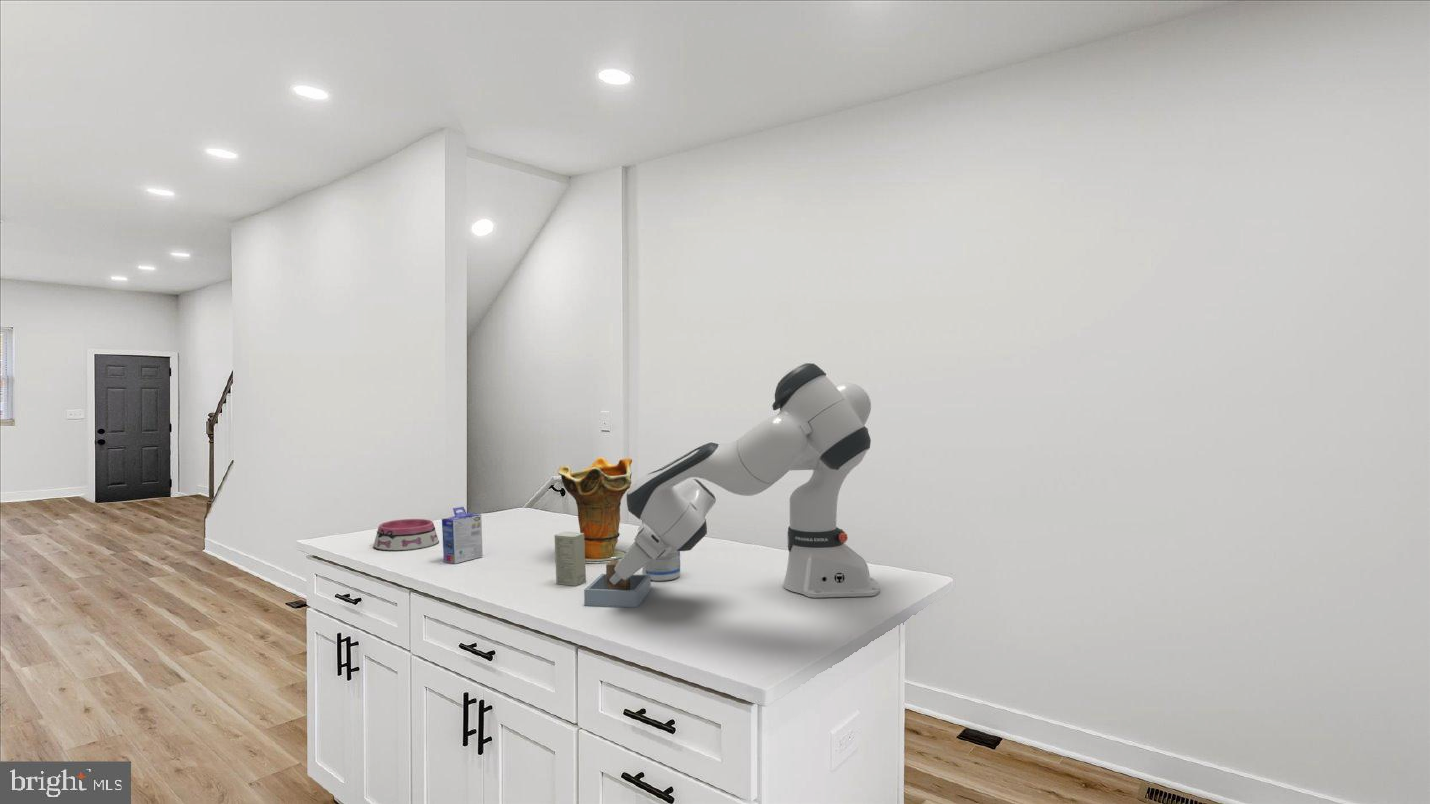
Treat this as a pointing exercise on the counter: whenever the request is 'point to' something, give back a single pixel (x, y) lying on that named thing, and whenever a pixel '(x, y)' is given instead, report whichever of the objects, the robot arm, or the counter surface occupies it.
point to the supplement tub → (663, 567)
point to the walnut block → (610, 572)
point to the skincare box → (570, 558)
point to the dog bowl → (405, 535)
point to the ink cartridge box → (462, 537)
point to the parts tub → (617, 592)
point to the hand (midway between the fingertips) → (615, 578)
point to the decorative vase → (599, 505)
